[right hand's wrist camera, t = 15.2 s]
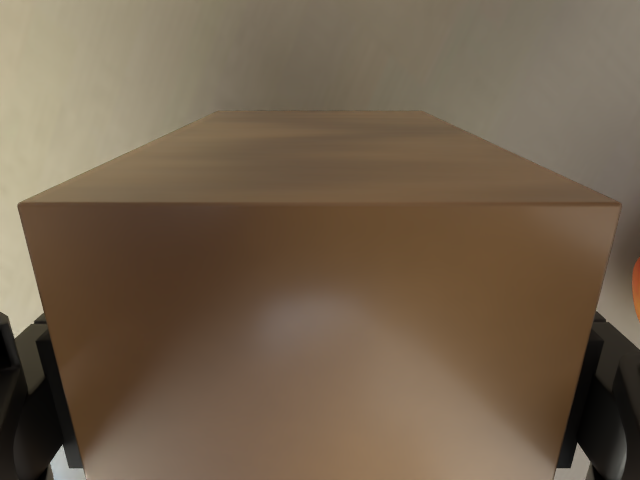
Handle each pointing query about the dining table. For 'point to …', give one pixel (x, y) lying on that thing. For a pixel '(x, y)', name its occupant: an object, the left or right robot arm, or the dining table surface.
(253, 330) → the wooden block
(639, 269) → the apple
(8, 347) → the right robot arm
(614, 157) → the dining table surface
